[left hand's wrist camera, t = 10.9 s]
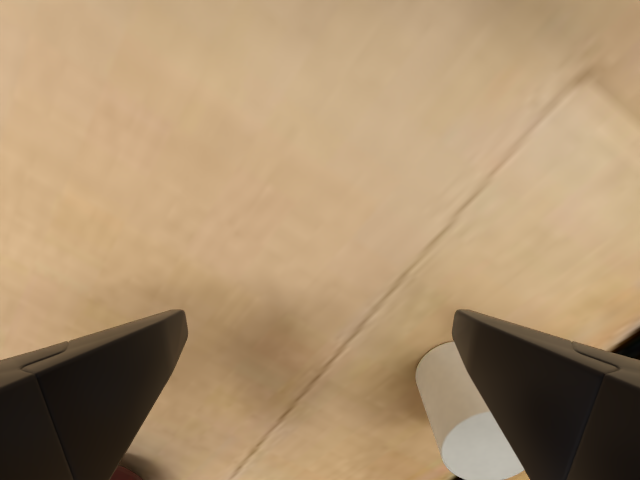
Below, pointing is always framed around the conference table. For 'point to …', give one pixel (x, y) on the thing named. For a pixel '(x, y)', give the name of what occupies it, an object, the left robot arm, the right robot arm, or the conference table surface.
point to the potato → (124, 474)
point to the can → (462, 419)
